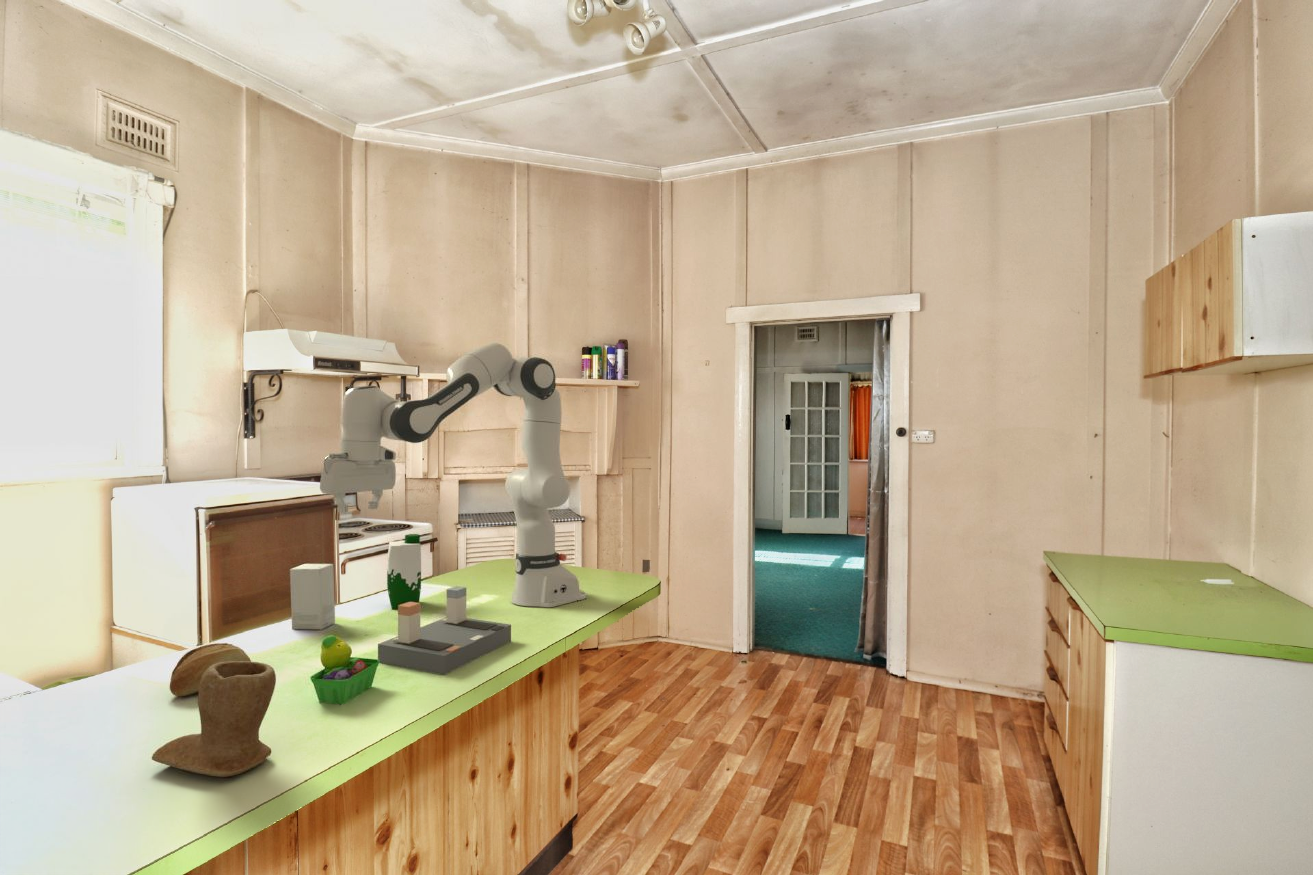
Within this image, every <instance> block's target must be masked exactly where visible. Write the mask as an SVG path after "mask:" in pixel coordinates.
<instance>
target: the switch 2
mask: <svg viewBox="0 0 1313 875" xmlns="http://www.w3.org/2000/svg"><path fill="white" fill-rule="evenodd" d="M445 618H446V622H448V623H454V624H457V623H460V622H462V621H465V620H466V618H467V587H466V586H458V585H455V586H453V587H449V588H447V589H446V617H445Z"/></svg>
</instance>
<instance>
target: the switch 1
mask: <svg viewBox="0 0 1313 875" xmlns="http://www.w3.org/2000/svg"><path fill="white" fill-rule="evenodd" d="M421 605H422V604H421V602H419V603H416V602H407V603H404V604H401V605H398V609H397V636H398V642H402V643H408V644H409V643H411V642H414V641H416V640H419V639H420V627H421V608H422V607H421Z"/></svg>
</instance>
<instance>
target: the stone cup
mask: <svg viewBox="0 0 1313 875" xmlns="http://www.w3.org/2000/svg"><path fill="white" fill-rule="evenodd" d="M276 681H277V676H276V672H275V669H274V667H272V666H271V665H270V664H268V663H264V662H257V661H251V662H250V661H227V662H220V663H216V664H213V665H212V666H210V667H209V668H208V669H207V670H206V671H205V672H204V674H203V675H202V678H201V681H200V685H199V692H198V698H197V700H198V701H197V703H198V704H197V707H198V712H199V718H200V719H199V720H200V730H201V731H200V733H194V734H193V733H192V734H188V735H183V736H179V737H177V738H175V739H172V740H171V741H169V742H166V743H165V744H164V745H162V746H160V747H159V748H157V749H156V751H155V752H153V754H152V756H151V760H153V762H157V763H159V764H163V765H165V766H169V767H172V768H176V769H179V770H183V771H187V772H190V773H191V772H192V773H195V774H200V775H205V776H211V777H217V778H219V777H220V778H222V777H224V778H225V777H231V776H235V775H239V774H242V773H244V772H247V771H249V770H251V769H253V768H255V767H257V766H258V765H260V764H261V763H263V762H265V761H266V760H267V758H268V757H270V755H271V754H272V749H271V747H269V746H268V745H266V744H265V743H263V742H262V741H261V740H260V728H261V725H262V723H263V720H264V718H265V715H266V714H267V711H268V709H269V707H270V703H271V702H272V698H273V695H274V691H275V688H276V683H277V682H276Z"/></svg>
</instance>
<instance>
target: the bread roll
mask: <svg viewBox="0 0 1313 875" xmlns="http://www.w3.org/2000/svg"><path fill="white" fill-rule="evenodd" d="M227 661H250V662H252V660H251V658H250V657H249V655H248V654H247V653H246V652H245V650H243V649H242V648H241V647H239V646H238V645H237V646H236V645H233V643H227V642H225V643H224V642H223V643H222V642H221V643H219V642H217V643H210V644H206V645H202V646H199V647H196V648H193V649H191V650H189V651H186V653H184V655H183V656H182V657H181V658H180V659H179V660H178V662H177V663H176V665H175V667H174V669H173V670H172V671H171V672H172V673H171V676H170V683H169V690H170V693H171V694H172V696H175V697H185V696H189V695H193V694H195V693H199V685H200V681H201V678H202V675H203V674H204V672H205V671H206V670H207V669H208V668H209V667H210V666H212V665H213V664H216V663H220V662H227Z"/></svg>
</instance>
